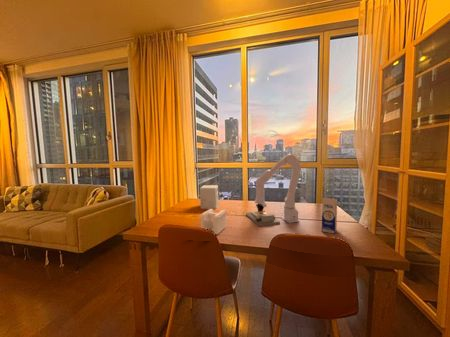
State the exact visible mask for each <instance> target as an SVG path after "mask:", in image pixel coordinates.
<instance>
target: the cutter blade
mask: <svg viewBox="0 0 450 337" xmlns="http://www.w3.org/2000/svg"><path fill="white" fill-rule="evenodd" d="M257 212H258V216H259V217H260V218H261V216H262V215H268V214H269V213H268V212H266V210H263V211H258V210H257Z"/></svg>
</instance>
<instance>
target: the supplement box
mask: <svg viewBox="0 0 450 337" xmlns="http://www.w3.org/2000/svg"><path fill="white" fill-rule="evenodd" d="M199 195H200V196H199V197H200V198H199V199H200V200H199V201H200V209H202V210H205V209H206V210H209V209H213V210H216V209H218V207H219V205H220V204H219V203H220V202H219V185H218V184H217V185H214V184H211V185H207V184H206V185H205V184H204V185H202V186H201V187H200V188H199Z"/></svg>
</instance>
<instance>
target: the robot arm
mask: <svg viewBox="0 0 450 337" xmlns="http://www.w3.org/2000/svg"><path fill="white" fill-rule="evenodd" d="M300 164H301V163H300V162H299V159H298V158H297V157H296V155H294V154H292V153H288V154H286V156H284V157H282V158H281V159H279V161H278V162H277V163H276V164H275V165H274V166H272V168H270V169H267V170H266V169H265V170H264V171H263V173H262V174H261V175H259V176H258V178H256V181H255V185H256V186H255V187H256V188H255V198H254V204H255V206H256V208H257V212H258V211H264V208H266V207H267V203H266V201H265V198H266V197H265V195H266V194H265V192H266V191H265V183H267V182H268V181H270V180H271V179H272V178H273V177H274V173H275V172H277V171H278V170H279V169H280V168H281V167H283V166H286V165H290V167H291V169H292V172H291V177H290V181H289V186H288V189H287V190H288V191H287V193H286V196H285V197H284V199H283V200H284V205H283V216H282V217H281V219H282V220H283V221H285V222H287V223H296V222H297V223H298V222H300V220H299V211H298V210H297V209H296V202H295V199H296V192H297V186H298V183H299V179H300V174H301V170H302V166H301V165H300Z"/></svg>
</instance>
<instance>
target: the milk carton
mask: <svg viewBox="0 0 450 337" xmlns="http://www.w3.org/2000/svg"><path fill="white" fill-rule="evenodd" d="M337 220H338V199H337V198H334V197H333V196H327V197H322V198H321V232H322V233H326V234H331V235H332V234H333V235H335V234H336V232H337V222H338V221H337Z"/></svg>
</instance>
